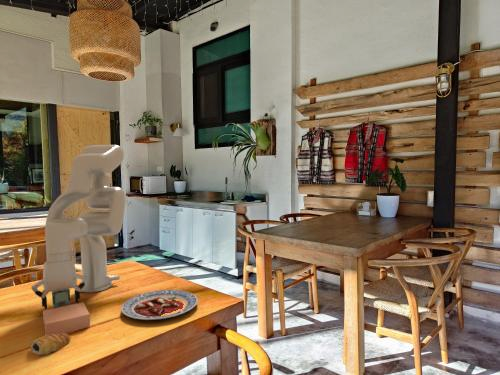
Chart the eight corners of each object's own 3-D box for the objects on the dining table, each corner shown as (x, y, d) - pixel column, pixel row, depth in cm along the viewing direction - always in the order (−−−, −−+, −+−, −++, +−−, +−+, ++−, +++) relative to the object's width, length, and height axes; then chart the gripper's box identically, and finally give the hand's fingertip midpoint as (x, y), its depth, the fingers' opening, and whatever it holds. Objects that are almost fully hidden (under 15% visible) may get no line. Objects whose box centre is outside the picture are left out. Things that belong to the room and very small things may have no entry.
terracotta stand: (84, 313, 120) (83, 302, 120) (90, 326, 110) (89, 314, 110) (43, 322, 114) (42, 310, 114) (45, 337, 104) (45, 324, 104)
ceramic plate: (147, 333, 106) (147, 323, 105) (107, 310, 123) (107, 302, 123) (212, 307, 125) (212, 298, 124) (170, 290, 142) (169, 283, 142)
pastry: (62, 337, 104) (61, 324, 104) (75, 343, 101) (75, 330, 100) (28, 351, 96) (27, 338, 96) (41, 359, 93) (40, 345, 92)
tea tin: (69, 305, 128) (68, 286, 127) (71, 310, 123) (70, 291, 123) (52, 309, 125) (51, 290, 124) (53, 314, 120) (52, 294, 120)
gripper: (84, 251, 131) (86, 296, 132) (29, 258, 121) (32, 307, 122) (87, 255, 124) (90, 302, 125) (30, 263, 115) (33, 314, 116)
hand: (61, 305), depth 124 cm, fingers open, 9 cm apart
